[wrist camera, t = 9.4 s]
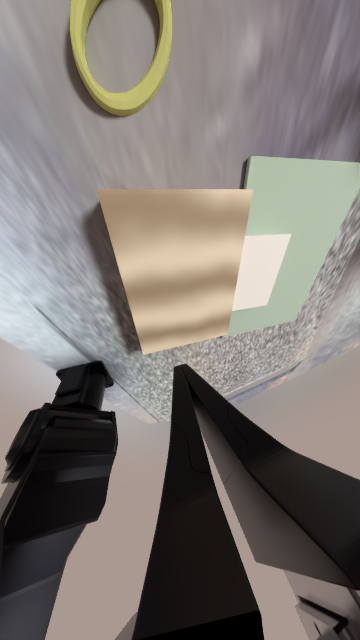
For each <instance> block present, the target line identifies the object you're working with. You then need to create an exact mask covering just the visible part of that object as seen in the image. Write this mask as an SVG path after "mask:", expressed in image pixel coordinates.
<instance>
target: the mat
mask: <svg viewBox="0 0 360 640" xmlns="http://www.w3.org/2000/svg"><path fill="white" fill-rule="evenodd" d="M359 187H360V163H357V162H341V161H325V160H309V159H293V158H277V157H261V156H250V157H249V158H248V161H247V167H246V174H245V181H244V188H243V189H253V194H252V200H251V205H250V211H249V217H248V222H247V228H246V234H245V235H265V234H291V237H290V240H289V243H288V246H287V249H286V252H285V255H284V257H283V260H282V263H281V266H280V269H279V272H278V275H277V278H276V280H275V283H274V286H273V289H272V292H271V295H270V298H269V301H268V303H267V305H264V306H259V307H253V308H248V309H242V310H237V311H232V313H231V318H230V324H229V330H228V335H224V336H222V337H223V338H224V337H228V336H232V335H236V334H240V333H244V332H248V331H253V330H257V329H261V328H265V327H269V326H273V325H277V324H281V323H285V322H289V321H294V320H295V319H296V317H297V315H298V313H299V311H300V309H301V307H302V305H303V303H304V301H305V299H306V297H307V294H308V292H309V290H310V288H311V286H312V284H313V282H314V280H315V278H316V276H317V274H318V272H319V270H320V268H321V266H322V264H323V262H324V259H325V257H326V255H327V253H328V251H329V249H330V247H331V245H332V243H333V241H334V239H335V237H336V235H337V233H338V231H339V229H340V226H341V224H342V222H343V220H344V218H345V216H346V214H347V212H348V210H349V208H350V206H351V204H352V202H353V200H354V198H355V196H356V193H357V191H358V189H359Z"/></svg>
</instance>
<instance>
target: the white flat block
mask: <svg viewBox="0 0 360 640" xmlns="http://www.w3.org/2000/svg"><path fill="white" fill-rule="evenodd" d="M290 237H291V234H265V235H245V239H244V245H243V251H242V256H241V262H240V268H239V273H238V279H237V284H236V290H235V296H234V301H233V307H232V311H237V310H242V309H248V308H253V307H259V306H264V305H267V303H268V301H269V298H270V295H271V292H272V289H273V286H274V283H275V280H276V278H277V275H278V272H279V269H280V266H281V263H282V260H283V257H284V255H285V252H286V249H287V246H288V243H289V240H290Z"/></svg>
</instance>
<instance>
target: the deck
mask: <svg viewBox="0 0 360 640" xmlns="http://www.w3.org/2000/svg"><path fill="white" fill-rule="evenodd" d="M97 193H98V197H99V200H100V204H101V207H102V211H103V214H104V218H105V221H106V225H107V228H108V232H109V235H110V239H111V242H112V246H113V250H114V253H115V257H116V260H117V264H118V267H119V271H120V274H121V278H122V281H123V285H124V288H125V292H126V296H127V299H128V303H129V306H130V310H131V313H132V317H133V320H134V324H135V327H136V331H137V334H138V338H139V341H140V345H141V349H142V352H143V355H145V354H149V353H153V352H157V351H161V350H165V349H170V348H174V347H178V346H182V345H186V344H190V343H194V342H199V341H203V340H207V339H211V338H215V337H219V336H224V335H228V330H229V324H230V318H231V313H232V307H233V301H234V296H235V290H236V284H237V279H238V273H239V268H240V262H241V256H242V251H243V245H244V239H245V234H246V228H247V222H248V217H249V211H250V205H251V200H252V194H253V189H97Z"/></svg>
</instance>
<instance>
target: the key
mask: <svg viewBox="0 0 360 640" xmlns="http://www.w3.org/2000/svg"><path fill="white" fill-rule="evenodd" d="M100 1H101V0H71V10H70V39H71V45H72V52H73V56H74V60H75V64H76V66H77V69H78V72H79V74H80V77H81V79H82V81H83V83H84V84H85V86H86V88H87V90H88V92H89V93H90V95H91V96H92V98H93V99H94V101H95V102H96V103H97V104H98V105H99V106H100V107H101V108H103V109H104V110H106V111H107V112H109V113H111V114H114V115H119V116H126V115H132V114H134V113H136V112H138V111H139V110H141V109H142V108H143V107H144V106H145V105H146V104H148V103H149V102H150V100H151V99H152V98H153V96H154V95H155V94H156V92H157V91H158V89H159V87H160V86H161V84H162V81H163V79H164V76H165V73H166V70H167V67H168V62H169V58H170V51H171V42H172V14H171V3H170V0H154V2H155V4H156V7H157V9H158V14H159V20H160V35H159V40H158V44H157V48H156V52H155V55H154V58H153V61H152V63H151V65H150V67H149V69H148V71H147V73H146V75H145V76H144V77H143V78H142V80H141V81H140V82H139V83H138V84H137V85H136V86H135V87H134V88H132V89H130V90H129V91H127V92H125V93H110V92H107V91H105V90H104V89H102V88H101V87H100V86H99V85H98V84H97V83H96V82H95V80H94V79H93V77H92V75H91V73H90V71H89V69H88V66H87V62H86V58H85V49H84V48H85V38H86V32H87V29H88V25H89V21H90V19H91V17H92V15H93V13H94V11H95V9H96V7H97V6H98V4H99V3H100Z"/></svg>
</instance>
